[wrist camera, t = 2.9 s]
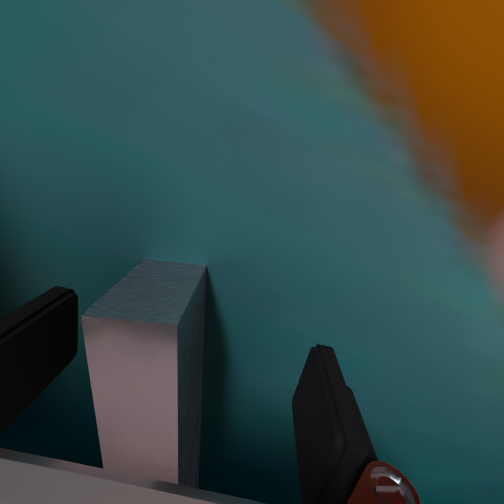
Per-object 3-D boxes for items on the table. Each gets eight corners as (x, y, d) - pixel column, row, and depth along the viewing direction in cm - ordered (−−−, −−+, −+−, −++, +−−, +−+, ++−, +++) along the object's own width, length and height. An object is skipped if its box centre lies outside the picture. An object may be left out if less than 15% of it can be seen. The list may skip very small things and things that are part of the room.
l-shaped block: (144, 258, 12) (80, 315, 8) (407, 284, 12) (487, 355, 8) (157, 513, 19) (126, 620, 14) (327, 530, 19) (347, 641, 14)
